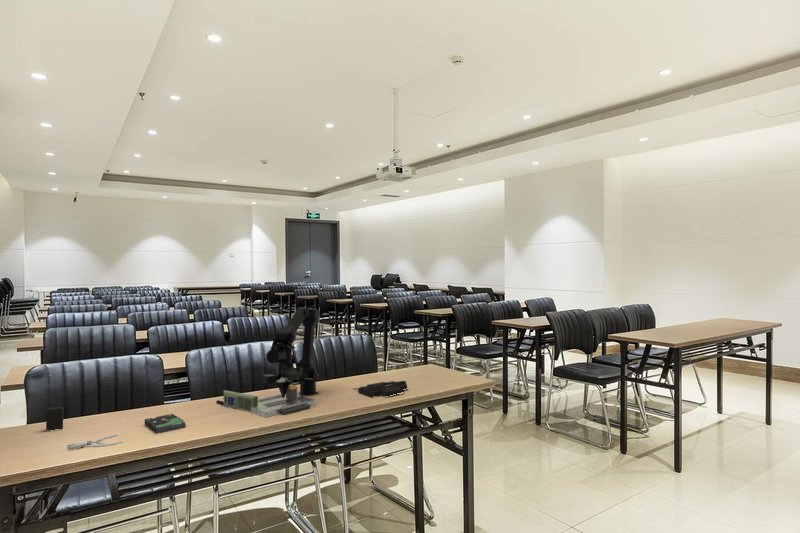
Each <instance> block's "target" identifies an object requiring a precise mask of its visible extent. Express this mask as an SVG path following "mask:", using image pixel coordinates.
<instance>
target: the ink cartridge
mask: <svg viewBox="0 0 800 533" xmlns="http://www.w3.org/2000/svg"><path fill="white" fill-rule="evenodd" d="M45 414H46V416H45V417H46V419H45V420H46V421H45V422H46V423H45V425H46V426H45V431H46V432H48V431H47V430H55V429H61V430H63V428H64V406H63V407H62V406H58V407H50V408H47V409H46V412H45ZM55 431H56V430H55Z"/></svg>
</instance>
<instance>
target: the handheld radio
mask: <svg viewBox="0 0 800 533" xmlns="http://www.w3.org/2000/svg"><path fill="white" fill-rule="evenodd" d="M222 399H223V401H222V400H219V399H217V400H216V404H220V405H223V407H226V408H230V407H231V409H235V410H240V411H245V412H249V413H252V412H251V407H255V406H258V401H259V397H258V396H257V395H253V394H247V393H241V392H236V391H231V390H223V398H222Z"/></svg>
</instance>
